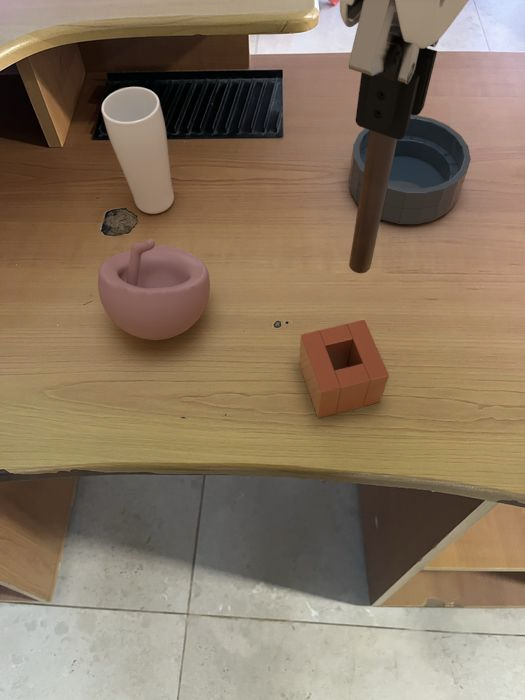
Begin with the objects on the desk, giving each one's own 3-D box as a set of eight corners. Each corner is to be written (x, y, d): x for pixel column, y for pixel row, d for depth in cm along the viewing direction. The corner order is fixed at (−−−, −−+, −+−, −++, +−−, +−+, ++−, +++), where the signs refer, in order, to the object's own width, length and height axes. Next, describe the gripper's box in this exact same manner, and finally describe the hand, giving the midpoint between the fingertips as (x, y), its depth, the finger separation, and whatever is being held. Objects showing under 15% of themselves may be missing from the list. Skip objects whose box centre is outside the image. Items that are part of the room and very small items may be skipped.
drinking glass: (189, 205, 77) (170, 108, 64) (145, 227, 75) (117, 131, 62) (164, 177, 80) (142, 78, 67) (121, 197, 78) (90, 100, 65)
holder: (358, 348, 65) (364, 318, 59) (380, 402, 61) (389, 375, 56) (298, 363, 64) (300, 334, 59) (318, 418, 60) (321, 392, 55)
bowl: (431, 142, 82) (441, 105, 77) (476, 214, 75) (490, 178, 69) (334, 162, 80) (338, 126, 75) (370, 237, 73) (377, 203, 68)
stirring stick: (366, 255, 48) (412, 16, 31) (373, 271, 48) (425, 34, 30) (346, 259, 48) (381, 21, 31) (353, 275, 47) (393, 39, 30)
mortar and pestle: (225, 283, 70) (216, 217, 60) (200, 367, 64) (185, 308, 54) (132, 269, 71) (108, 202, 62) (99, 350, 65) (67, 290, 56)
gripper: (508, -263, 15) (392, 222, 31) (638, -378, 22) (489, 68, 38) (266, -292, 17) (273, 176, 33) (453, -388, 24) (385, 38, 40)
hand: (389, 116), depth 35 cm, fingers closed on stirring stick, 1 cm apart
